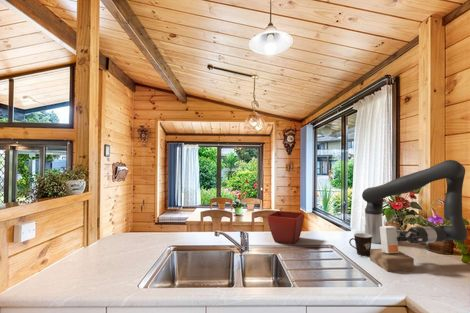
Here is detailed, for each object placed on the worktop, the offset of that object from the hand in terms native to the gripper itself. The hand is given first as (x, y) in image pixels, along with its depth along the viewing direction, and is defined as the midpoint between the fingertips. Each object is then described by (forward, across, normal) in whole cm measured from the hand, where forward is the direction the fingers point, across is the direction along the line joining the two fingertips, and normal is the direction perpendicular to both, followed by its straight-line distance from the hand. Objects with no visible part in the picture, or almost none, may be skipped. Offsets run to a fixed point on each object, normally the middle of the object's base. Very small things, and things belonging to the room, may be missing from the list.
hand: (390, 236), depth 124 cm
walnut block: (+1, 0, +14) cm, 14 cm away
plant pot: (+37, -48, +14) cm, 62 cm away
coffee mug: (+6, -17, +14) cm, 22 cm away
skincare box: (0, 0, +8) cm, 8 cm away
